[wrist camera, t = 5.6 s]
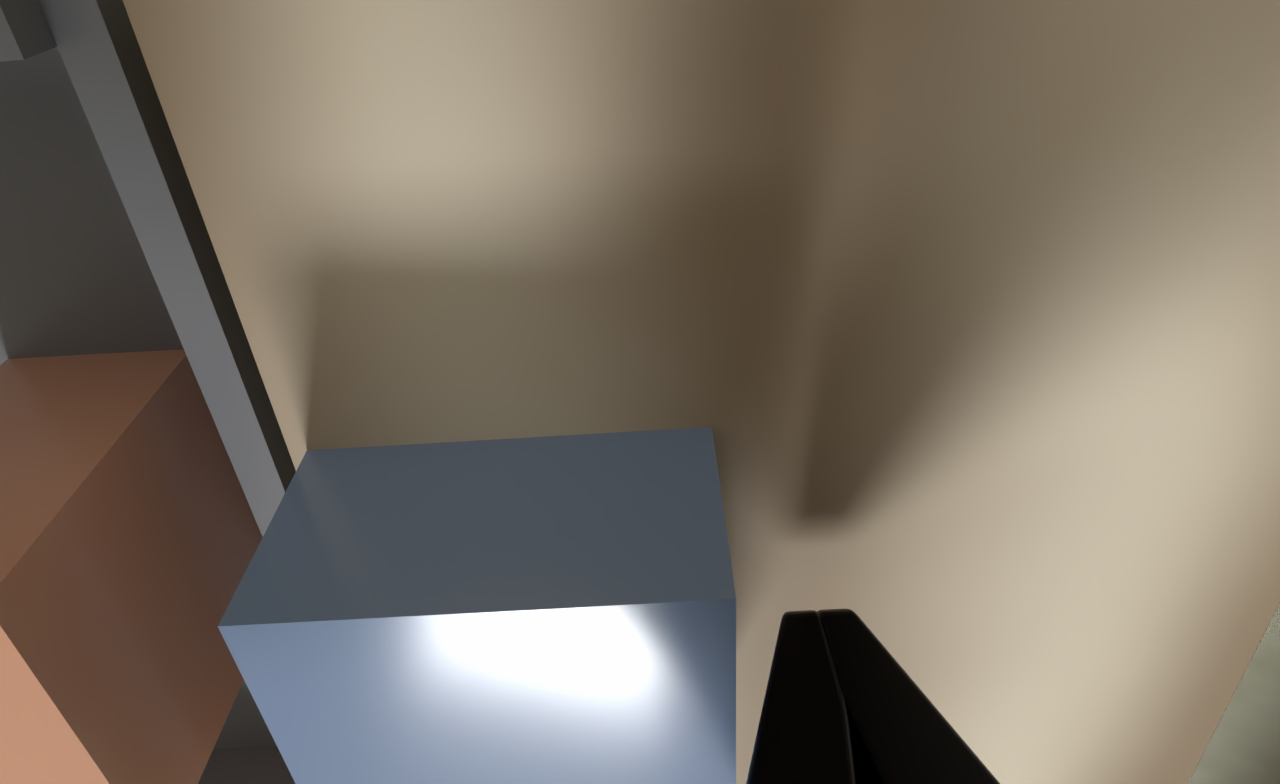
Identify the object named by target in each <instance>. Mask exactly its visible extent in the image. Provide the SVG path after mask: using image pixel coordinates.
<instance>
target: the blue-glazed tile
mask: <svg viewBox="0 0 1280 784" xmlns="http://www.w3.org/2000/svg"><path fill="white" fill-rule="evenodd" d="M218 628H219V630H220V632H221V634H222V636H223V638H224V640H225V642H226V644H227V646H228V648H229V650H230V652H231V654H232V656H233V658H234V660H235V662H236V664H237V667H238V669H239V671H240V673H241V675H242V677H243V679H244V681H245V683H246V685H247V687H248V689H249V691H250V693H251V695H252V697H253V699H254V701H255V703H256V705H257V707H258V709H259V711H260V713H261V715H262V717H263V719H264V721H265V723H266V725H267V727H268V729H269V731H270V733H271V735H272V737H273V739H274V741H275V743H276V745H277V747H278V749H279V751H280V753H281V755H282V757H283V759H284V761H285V763H286V765H287V767H288V769H289V771H290V773H291V776H292V778H293V780H294V782H295V784H736V594H735V587H734V580H733V573H732V566H731V559H730V551H729V544H728V537H727V530H726V523H725V516H724V509H723V502H722V494H721V487H720V480H719V473H718V466H717V459H716V452H715V444H714V437H713V430H712V427H702V428H685V429H668V430H650V431H633V432H616V433H599V434H582V435H564V436H547V437H530V438H513V439H495V440H478V441H461V442H444V443H426V444H409V445H392V446H375V447H357V448H340V449H323V450H307V451H306V453H305V455H304V457H303V459H302V461H301V463H300V465H299V467H298V469H297V471H296V473H295V475H294V477H293V479H292V480H291V482H290V484H289V486H288V488H287V490H286V492H285V494H284V496H283V498H282V500H281V502H280V504H279V506H278V508H277V510H276V512H275V514H274V516H273V518H272V520H271V522H270V524H269V526H268V528H267V530H266V532H265V534H264V536H263V538H262V540H261V542H260V544H259V546H258V548H257V550H256V552H255V554H254V556H253V558H252V560H251V562H250V564H249V565H248V567H247V569H246V571H245V573H244V575H243V577H242V579H241V581H240V583H239V585H238V587H237V589H236V591H235V593H234V595H233V597H232V599H231V601H230V603H229V605H228V607H227V609H226V611H225V613H224V615H223V617H222V619H221V621H220V623H219V625H218Z"/></svg>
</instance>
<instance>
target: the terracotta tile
mask: <svg viewBox="0 0 1280 784" xmlns="http://www.w3.org/2000/svg"><path fill="white" fill-rule="evenodd" d="M262 538H263V537H262V534H261V532H260V530H259V527H258V525H257V522H256V520H255V518H254V515H253V513H252V511H251V508H250V506H249V503H248V501H247V499H246V496H245V494H244V491H243V489H242V487H241V484H240V482H239V479H238V477H237V475H236V472H235V470H234V468H233V465H232V463H231V460H230V458H229V456H228V453H227V451H226V448H225V446H224V444H223V441H222V439H221V437H220V434H219V432H218V429H217V427H216V425H215V422H214V420H213V417H212V415H211V413H210V410H209V408H208V406H207V403H206V401H205V398H204V396H203V394H202V391H201V389H200V386H199V384H198V382H197V379H196V377H195V375H194V372H193V370H192V367H191V365H190V363H189V360H188V358H187V355H186V353H185V351H184V349H180V350H161V351H142V352H124V353H105V354H87V355H69V356H50V357H32V358H14V359H7V360H6V361H5V362H4V363H3V364H2V365H0V784H198V783H199V780H200V778H201V776H202V774H203V771H204V769H205V767H206V764H207V762H208V760H209V758H210V755H211V753H212V751H213V749H214V746H215V744H216V742H217V739H218V737H219V735H220V733H221V730H222V728H223V726H224V724H225V721H226V719H227V717H228V714H229V712H230V710H231V708H232V705H233V703H234V701H235V699H236V696H237V694H238V692H239V689H240V687H241V685H242V683H243V680H244V679H243V677H242V675H241V673H240V671H239V669H238V667H237V664H236V662H235V660H234V658H233V656H232V654H231V652H230V650H229V648H228V646H227V644H226V642H225V640H224V638H223V636H222V634H221V632H220V630H219V628H218V625H219V623H220V621H221V619H222V617H223V615H224V613H225V611H226V609H227V607H228V605H229V603H230V601H231V599H232V597H233V595H234V593H235V591H236V589H237V587H238V585H239V583H240V581H241V579H242V577H243V575H244V573H245V571H246V569H247V567H248V565H249V564H250V562H251V560H252V558H253V556H254V554H255V552H256V550H257V548H258V546H259V544H260V542H261V540H262Z"/></svg>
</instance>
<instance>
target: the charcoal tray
mask: <svg viewBox="0 0 1280 784" xmlns="http://www.w3.org/2000/svg"><path fill="white" fill-rule="evenodd" d="M180 349H184V351H185V353H186V355H187V358H188V360H189V363H190V365H191V367H192V370H193V372H194V375H195V377H196V379H197V382H198V384H199V386H200V389H201V391H202V394H203V396H204V398H205V401H206V403H207V406H208V408H209V410H210V413H211V415H212V417H213V420H214V422H215V425H216V427H217V429H218V432H219V434H220V437H221V439H222V441H223V444H224V446H225V448H226V451H227V453H228V456H229V458H230V460H231V463H232V465H233V468H234V470H235V472H236V475H237V477H238V479H239V482H240V484H241V487H242V489H243V491H244V494H245V496H246V499H247V501H248V503H249V506H250V508H251V511H252V513H253V515H254V518H255V520H256V522H257V525H258V527H259V530H260V532H261V534H262V537H263V536H264V534H265V532H266V530H267V528H268V526H269V524H270V522H271V520H272V518H273V516H274V514H275V512H276V510H277V508H278V506H279V504H280V502H281V500H282V498H283V496H284V494H285V492H286V490H287V488H288V486H289V484H290V482H291V480H292V479H293V477H294V475H295V473H296V470H295V467H294V464H293V462H292V459H291V456H290V453H289V451H288V448H287V445H286V443H285V440H284V437H283V434H282V432H281V429H280V426H279V424H278V421H277V418H276V415H275V413H274V410H273V407H272V405H271V402H270V399H269V396H268V394H267V391H266V388H265V386H264V383H263V380H262V377H261V375H260V372H259V369H258V367H257V364H256V361H255V358H254V356H253V353H252V350H251V348H250V345H249V342H248V339H247V337H246V334H245V331H244V329H243V326H242V323H241V320H240V318H239V315H238V312H237V310H236V307H235V304H234V301H233V299H232V296H231V293H230V291H229V288H228V285H227V282H226V280H225V277H224V274H223V272H222V269H221V266H220V263H219V261H218V258H217V255H216V253H215V250H214V247H213V244H212V242H211V239H210V236H209V234H208V231H207V228H206V225H205V223H204V220H203V217H202V215H201V212H200V209H199V206H198V204H197V201H196V198H195V196H194V193H193V190H192V187H191V185H190V182H189V179H188V177H187V174H186V171H185V168H184V166H183V163H182V160H181V158H180V155H179V152H178V149H177V147H176V144H175V141H174V139H173V136H172V133H171V130H170V128H169V125H168V122H167V120H166V117H165V114H164V111H163V109H162V106H161V103H160V101H159V98H158V95H157V92H156V90H155V87H154V84H153V82H152V79H151V76H150V73H149V71H148V68H147V65H146V63H145V60H144V57H143V54H142V52H141V49H140V46H139V44H138V41H137V38H136V35H135V33H134V30H133V27H132V25H131V22H130V19H129V16H128V14H127V11H126V8H125V6H124V3H123V0H0V365H2V364H3V363H4V362H5V361H6V360H7V359H14V358H32V357H50V356H69V355H87V354H105V353H124V352H142V351H161V350H180ZM198 784H295V782H294V780H293V778H292V776H291V773H290V771H289V769H288V767H287V765H286V763H285V761H284V759H283V757H282V755H281V753H280V751H279V749H278V747H277V745H276V743H275V741H274V739H273V737H272V735H271V733H270V731H269V729H268V727H267V725H266V723H265V721H264V719H263V717H262V715H261V713H260V711H259V709H258V707H257V705H256V703H255V701H254V699H253V697H252V695H251V693H250V691H249V689H248V687H247V685H246V683H245V681H244V680H243V683H242V685H241V687H240V689H239V692H238V694H237V696H236V699H235V701H234V703H233V705H232V708H231V710H230V712H229V714H228V717H227V719H226V721H225V724H224V726H223V728H222V730H221V733H220V735H219V737H218V739H217V742H216V744H215V746H214V749H213V751H212V753H211V755H210V758H209V760H208V762H207V764H206V767H205V769H204V771H203V774H202V776H201V778H200V780H199V783H198Z"/></svg>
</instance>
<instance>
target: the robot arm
mask: <svg viewBox="0 0 1280 784" xmlns="http://www.w3.org/2000/svg"><path fill="white" fill-rule="evenodd" d="M746 784H1000V783H999V781H998V780H997V779H996V778H995V777H994V776H993V774H992V773H991V772H990V771H989V770H988V769H987V767H986V766H985V765H984V764H983V763H982V761H981V760H980V759H979V758H978V757H977V756H976V754H975V753H974V752H973V751H972V750H971V748H970V747H969V746H968V745H967V744H966V743H965V741H964V740H963V739H962V738H961V737H960V735H959V734H958V733H957V732H956V731H955V730H954V728H953V727H952V726H951V725H950V724H949V722H948V721H947V720H946V719H945V718H944V717H943V715H942V714H941V713H940V712H939V711H938V709H937V708H936V707H935V706H934V705H933V704H932V702H931V701H930V700H929V699H928V698H927V696H926V695H925V694H924V693H923V692H922V691H921V689H920V688H919V687H918V686H917V685H916V683H915V682H914V681H913V680H912V679H911V678H910V676H909V675H908V674H907V673H906V672H905V670H904V669H903V668H902V667H901V666H900V665H899V663H898V662H897V661H896V660H895V659H894V658H893V656H892V655H891V654H890V653H889V652H888V650H887V649H886V648H885V647H884V646H883V645H882V643H881V642H880V641H879V640H878V639H877V637H876V636H875V635H874V634H873V633H872V632H871V630H870V629H869V628H868V627H867V626H866V624H865V623H864V622H863V621H862V620H861V619H860V617H859V616H858V615H857V614H856V613H855V612H854V611H852V610H850V609H846V608H843V609H824V610H819V611H815V610H804V611H788V612H785V613H784V614H783V616H782V619H781V623H780V628H779V633H778V637H777V642H776V646H775V651H774V656H773V660H772V665H771V670H770V674H769V679H768V684H767V688H766V693H765V698H764V702H763V707H762V712H761V716H760V721H759V726H758V730H757V735H756V739H755V744H754V749H753V753H752V758H751V763H750V767H749V772H748V777H747V781H746Z"/></svg>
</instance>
